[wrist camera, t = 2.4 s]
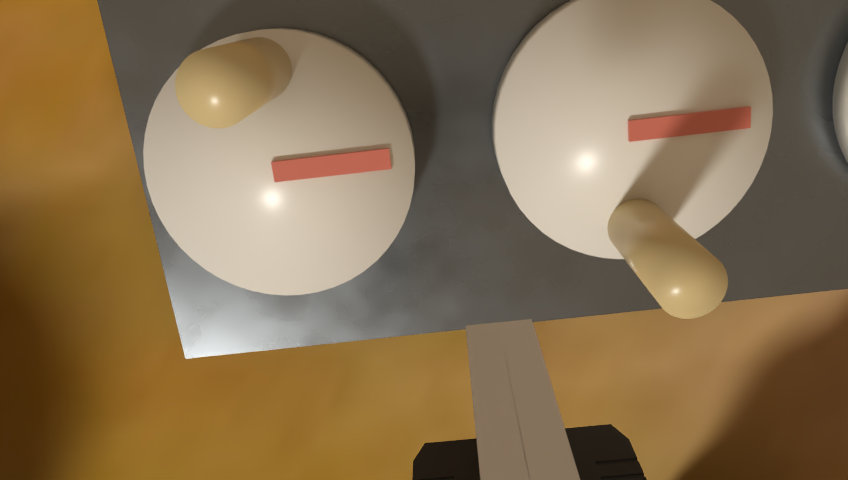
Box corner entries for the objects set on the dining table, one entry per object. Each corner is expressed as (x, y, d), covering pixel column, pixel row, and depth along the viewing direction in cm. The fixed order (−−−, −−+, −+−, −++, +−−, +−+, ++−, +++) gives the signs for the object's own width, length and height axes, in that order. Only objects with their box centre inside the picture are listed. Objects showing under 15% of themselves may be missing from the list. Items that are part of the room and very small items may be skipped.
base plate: (194, 345, 30) (175, 374, 28) (102, -40, 25) (69, -44, 23) (1059, 253, 29) (1115, 275, 26) (1132, -171, 24) (1208, -189, 22)
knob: (190, 291, 28) (115, 385, 21) (132, 44, 25) (24, 62, 18) (429, 265, 27) (430, 352, 21) (398, 12, 25) (388, 17, 18)
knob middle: (502, 257, 27) (528, 342, 21) (480, 2, 24) (502, 4, 18) (748, 230, 27) (857, 307, 20) (755, -32, 24) (885, -43, 17)
